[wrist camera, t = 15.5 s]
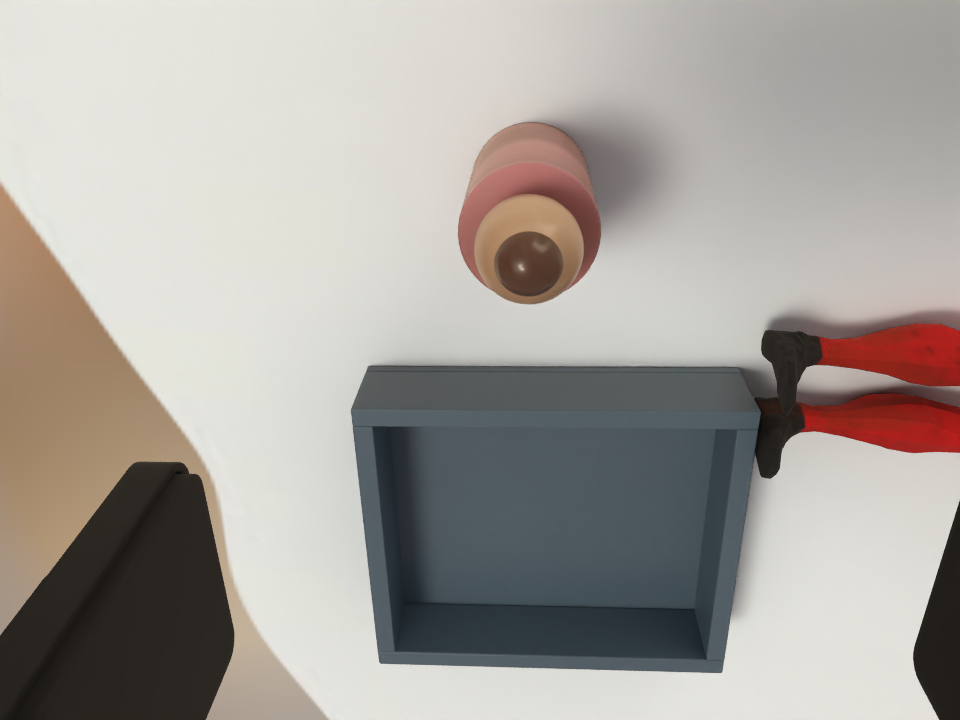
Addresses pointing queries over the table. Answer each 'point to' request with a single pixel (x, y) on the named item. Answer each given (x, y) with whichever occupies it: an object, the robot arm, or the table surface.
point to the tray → (554, 513)
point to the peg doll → (529, 214)
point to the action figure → (869, 418)
